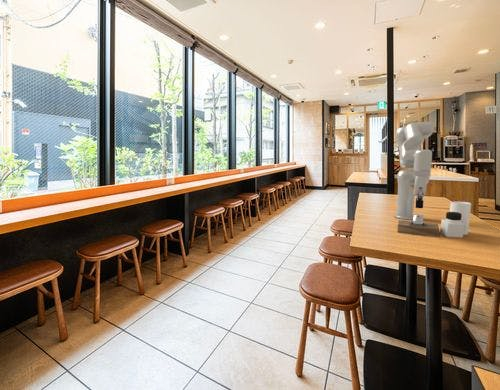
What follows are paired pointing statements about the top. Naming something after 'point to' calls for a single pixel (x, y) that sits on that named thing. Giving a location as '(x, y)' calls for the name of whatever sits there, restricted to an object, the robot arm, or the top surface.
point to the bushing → (417, 219)
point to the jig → (418, 228)
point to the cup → (462, 212)
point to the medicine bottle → (452, 225)
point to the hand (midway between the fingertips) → (419, 206)
